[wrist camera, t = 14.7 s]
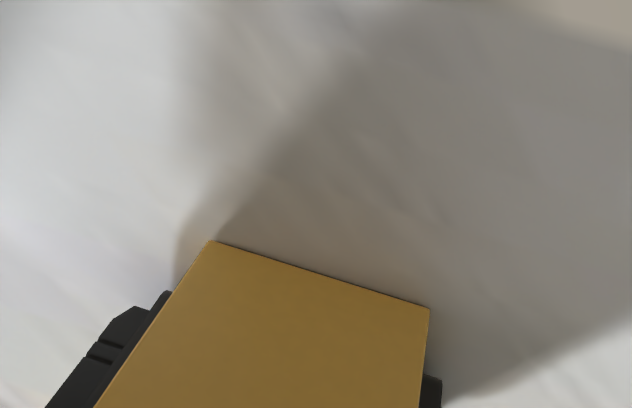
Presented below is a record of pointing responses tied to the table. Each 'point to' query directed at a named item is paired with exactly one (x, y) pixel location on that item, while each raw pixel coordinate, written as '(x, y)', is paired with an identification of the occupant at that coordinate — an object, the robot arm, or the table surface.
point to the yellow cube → (273, 342)
